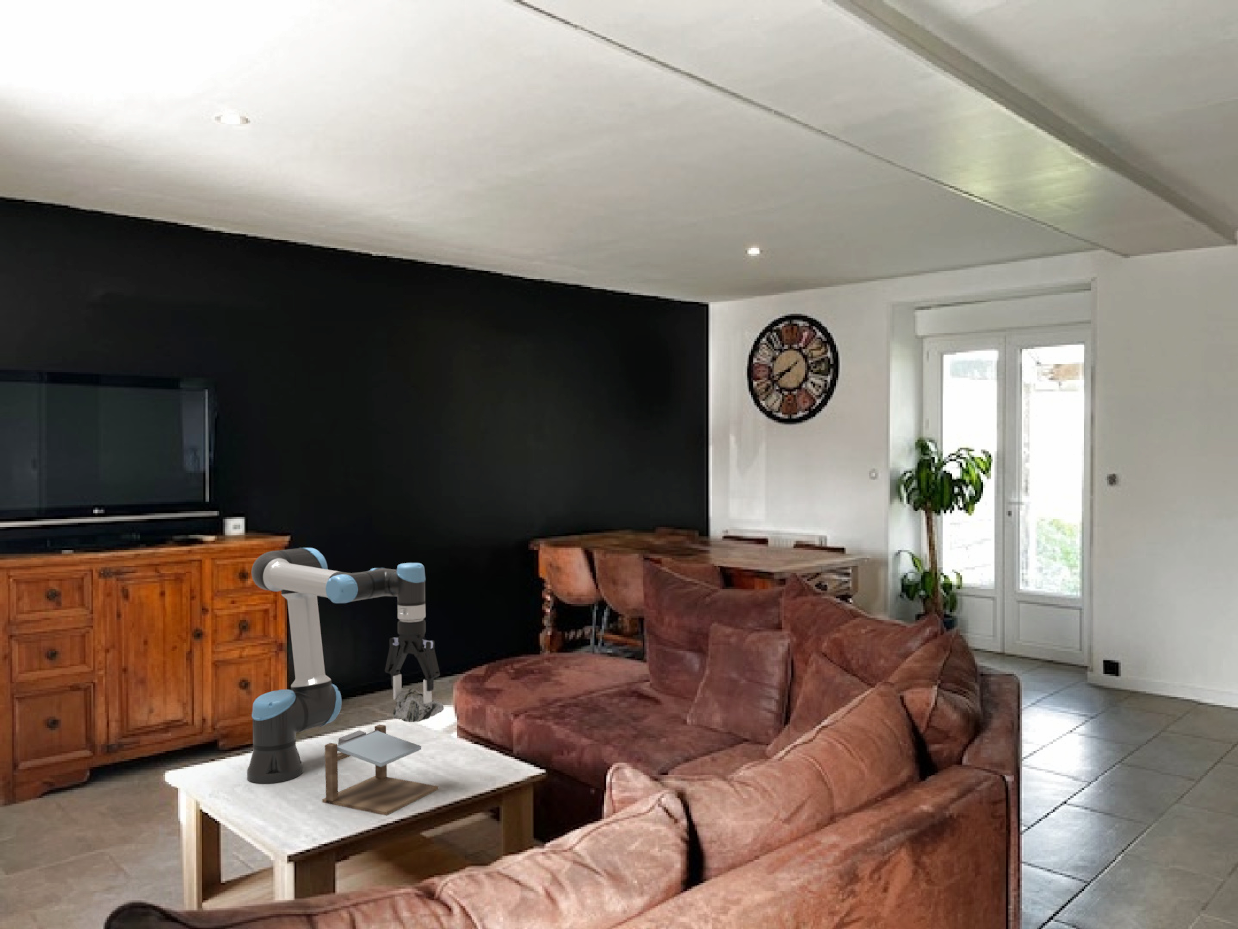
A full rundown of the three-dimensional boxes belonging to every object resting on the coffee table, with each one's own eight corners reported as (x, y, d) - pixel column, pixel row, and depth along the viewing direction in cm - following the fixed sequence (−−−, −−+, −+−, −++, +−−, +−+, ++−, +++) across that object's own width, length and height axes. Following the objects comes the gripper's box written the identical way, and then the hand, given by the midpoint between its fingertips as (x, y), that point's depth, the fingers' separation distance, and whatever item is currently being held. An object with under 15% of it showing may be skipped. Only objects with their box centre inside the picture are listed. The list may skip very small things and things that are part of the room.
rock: (418, 724, 250) (418, 697, 250) (385, 720, 253) (386, 694, 254) (446, 712, 264) (447, 686, 264) (415, 708, 267) (416, 683, 267)
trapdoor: (326, 749, 250) (327, 742, 250) (369, 732, 265) (370, 726, 265) (380, 768, 241) (380, 762, 241) (421, 750, 256) (422, 744, 256)
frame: (321, 802, 248) (320, 744, 248) (375, 777, 267) (374, 724, 267) (386, 815, 238) (385, 755, 238) (438, 789, 256) (437, 733, 256)
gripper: (370, 619, 259) (371, 699, 259) (436, 624, 249) (437, 708, 249) (388, 614, 265) (389, 693, 266) (452, 620, 256) (453, 701, 256)
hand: (412, 700), depth 257 cm, fingers closed on rock, 10 cm apart
